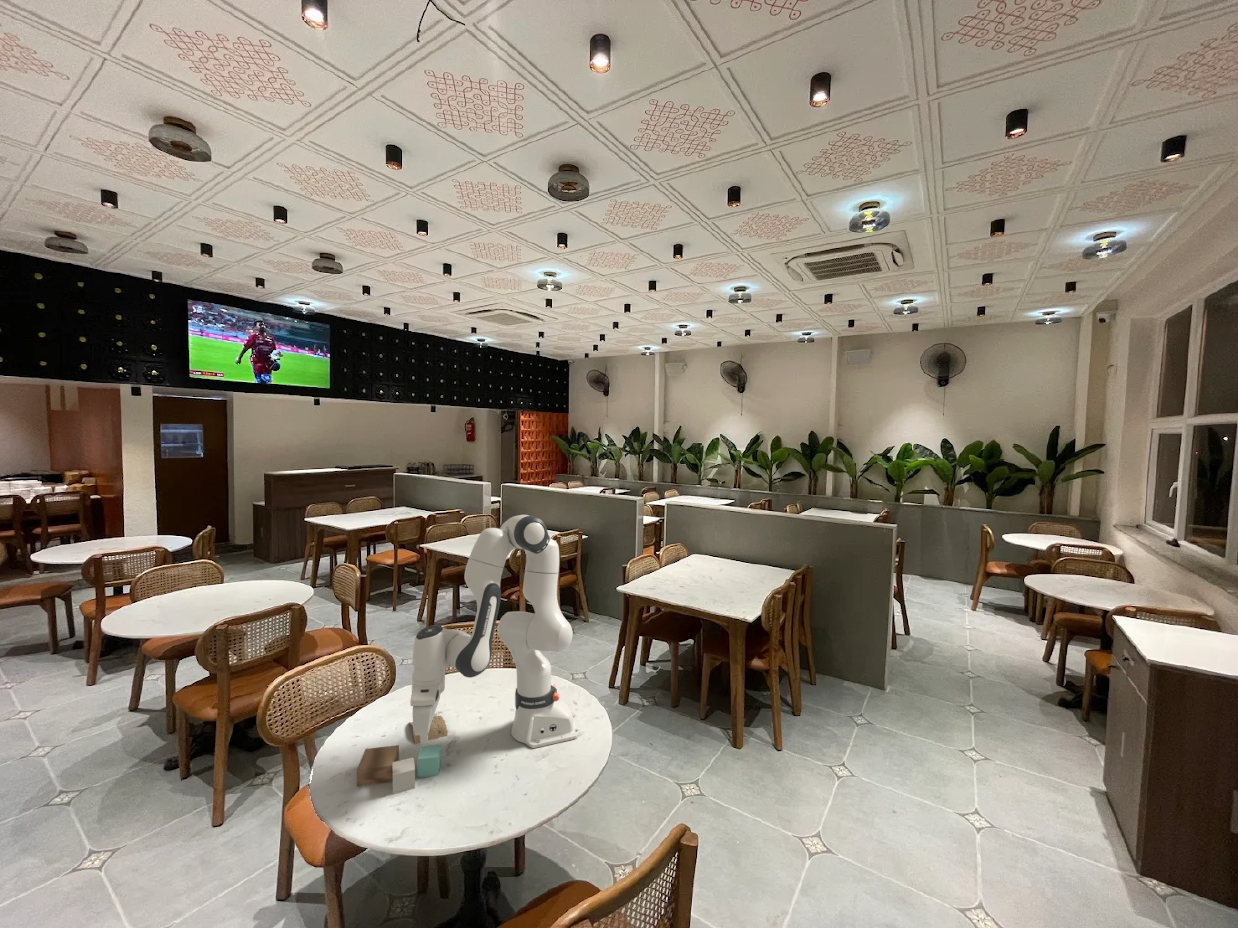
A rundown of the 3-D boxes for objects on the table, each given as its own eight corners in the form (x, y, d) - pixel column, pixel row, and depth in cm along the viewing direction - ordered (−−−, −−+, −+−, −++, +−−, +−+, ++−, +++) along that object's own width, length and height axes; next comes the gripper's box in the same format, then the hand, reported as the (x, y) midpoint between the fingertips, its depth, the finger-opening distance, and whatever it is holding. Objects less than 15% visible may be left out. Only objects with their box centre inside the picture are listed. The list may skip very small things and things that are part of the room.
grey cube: (413, 775, 138) (413, 757, 138) (414, 788, 134) (414, 769, 133) (392, 781, 136) (392, 762, 136) (392, 794, 131) (392, 775, 131)
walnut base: (398, 761, 144) (398, 744, 144) (392, 782, 136) (391, 765, 135) (365, 765, 142) (365, 748, 142) (356, 787, 134) (356, 769, 133)
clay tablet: (407, 724, 163) (407, 716, 163) (439, 715, 168) (439, 707, 168) (415, 748, 151) (415, 740, 151) (449, 738, 156) (449, 730, 156)
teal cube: (441, 762, 144) (441, 744, 144) (438, 775, 139) (438, 756, 138) (421, 764, 143) (421, 746, 143) (417, 777, 138) (417, 758, 137)
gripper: (424, 668, 149) (423, 712, 149) (408, 703, 129) (407, 754, 129) (445, 667, 150) (444, 711, 151) (433, 702, 130) (432, 752, 130)
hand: (427, 731), depth 140 cm, fingers open, 8 cm apart
